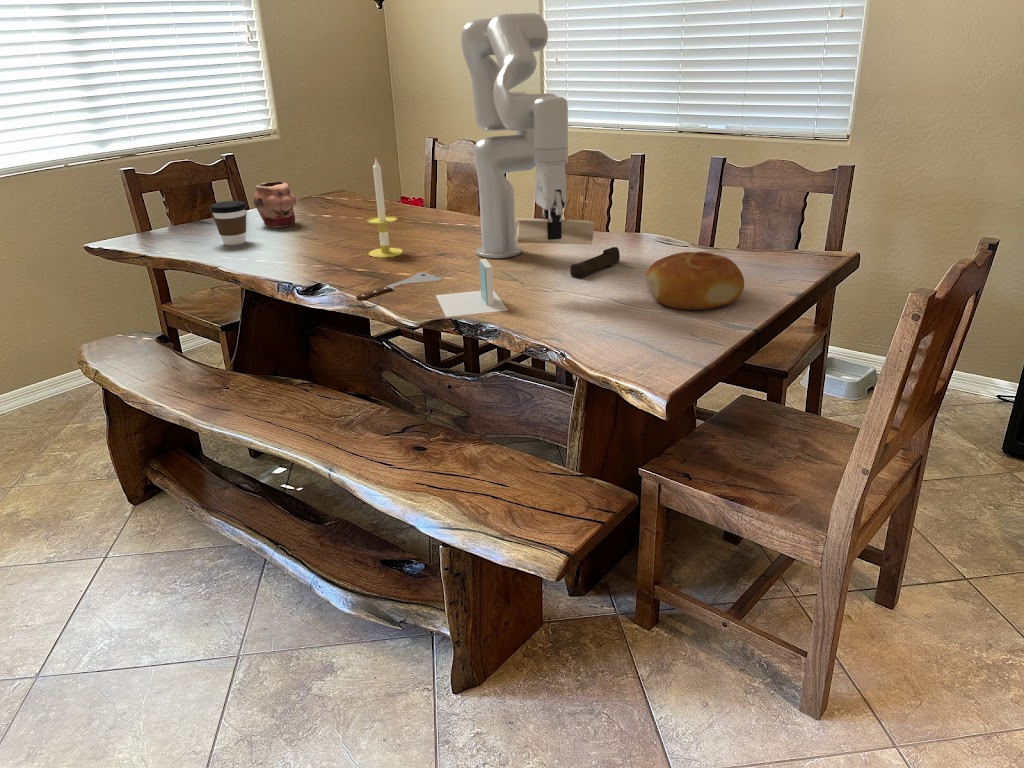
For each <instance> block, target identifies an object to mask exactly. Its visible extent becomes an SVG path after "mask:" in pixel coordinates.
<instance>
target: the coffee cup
mask: <svg viewBox="0 0 1024 768" xmlns="http://www.w3.org/2000/svg"><path fill="white" fill-rule="evenodd" d="M209 207H210V208H209V212H210V213H212V215H213V219H214V222H215V225H216V228H217V231H218V234H219V235H220V238H221V240H222V243H223V244H224V246H237V245H238V246H239V245H243V244H245V243H246V238H247V234H246V233H247V214H246V209H248V205H247V204H246V203H245V202H244V200H243V201H241V200H227V201H225V200H224V201H219V202H215V203H212V204H210V206H209Z"/></svg>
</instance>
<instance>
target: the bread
mask: <svg viewBox="0 0 1024 768" xmlns="http://www.w3.org/2000/svg"><path fill="white" fill-rule="evenodd" d="M645 280H646V284H647V287H648V290H649V292H650V294H651V297H652V298H653V299H654V300H655V301H657V303H660V304H661V305H664V306H666V307H670V308H674V309H679V310H685V311H686V310H688V311H702V310H703V311H704V310H709V309H710V310H711V309H715V308H721V307H723V306H727V305H729V304H731V303H733V302H734V301H736V300H738V299H739V298H740V297H741V296H742V293H743V292H744V290H745V289H744V288H745V280H744V275H743V273H742V272H741V269H740V267H738V266H737V264H736V263H735V262H734V261H733V260H731V259H730V258H728V257H726V256H723V255H720V254H714V253H711V252H705V251H695V252H694V251H685V252H684V251H683V252H677V253H674V254H669V255H667V256H665V257H662V258H660V259H658V260H656V261H655V262H653V263H652V264H651V265H649V267H648V269H647V271H646V275H645Z"/></svg>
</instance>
